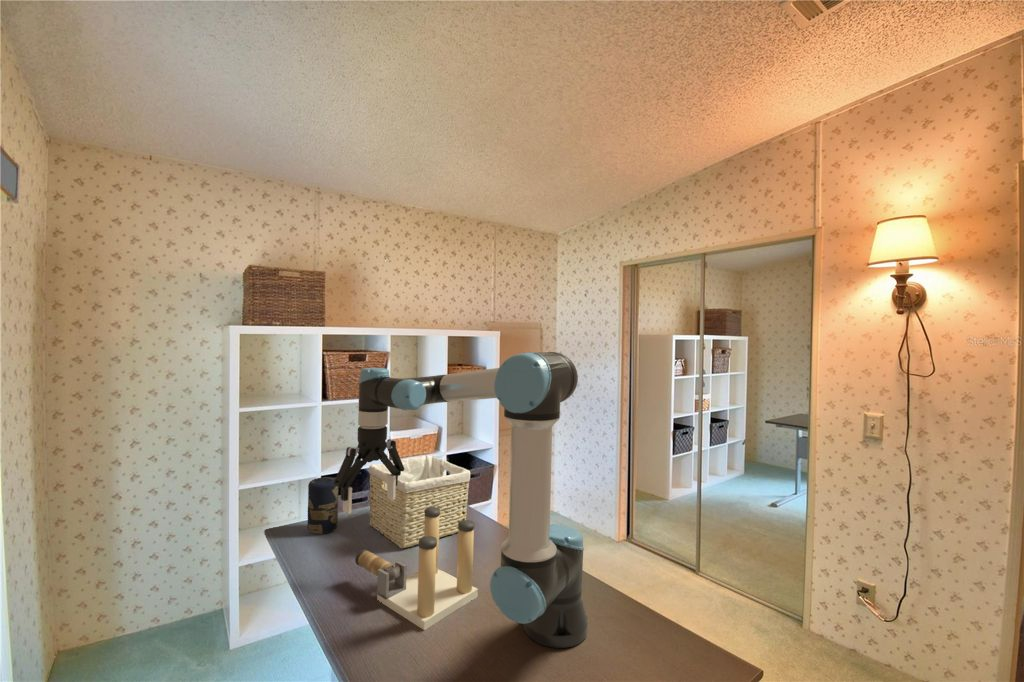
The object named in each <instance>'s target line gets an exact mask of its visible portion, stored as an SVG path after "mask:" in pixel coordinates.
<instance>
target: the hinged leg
mask: <svg viewBox="0 0 1024 682" xmlns="http://www.w3.org/2000/svg"><path fill="white" fill-rule="evenodd" d="M354 561H355V564H356V565H357V566H359V567H360V568H363V569H365V570H367V571H369V573H371V574H373V575H375V576H377V577H378V569H382V570H384V571H386V572H387V573H389V582H391V581H395V579H396V578H398V577H400V576H401V575H402V570H401V568H400V567H399V566H396V567H395V565H394V564H393V563H391V562H390V561H387V560H386V559H384V558H382V557H380V556H378V555H377V554H375V553H373V552H371V551H370V550H369V549H366V548H364V549H360V550H359V551H358V552H357V554H356V555H355V560H354Z"/></svg>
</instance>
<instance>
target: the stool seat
mask: <svg viewBox="0 0 1024 682" xmlns="http://www.w3.org/2000/svg"><path fill="white" fill-rule="evenodd" d="M439 518H440V509H439V508H436V507H430V508H426V509H425V529H424V537H422V538H420V539H419V544H418V566H417V567H418V569H417V572H416V573H414V574H411V575H409V576H407V567H408V566H407V564H404V563H403V562H401V561H399V560H397V561H395V562H394V563H395V564H394V567H396V566H399V567H400V568H401V570H402V575H401V576H400V577H398V578H396V579H394V583H391V584H390V581H389V573H387V572H386V571H384V570H382V569H378V576H377V581H376V582H377V583H376V585H377V586H376V589H377V590H376V600H377V601H378V600H379V601H380V602H379V601H378V602H379V603H381V602H382V603H381V604H383V606H386V607H388V609H390V610H392V611H393V612H395V613H396V614H398V615H400V616H401V617H403V618H404V619H406V620H408V621H409V622H411V623H412V624H414V625H415V626H417V627H419V628H420V629H421V630H423V631H426V630H428V629H429V628H431V627H432V626H434V625H436V624H437V623H439V622H440V621H442V620H443V619H444V618H446V617H448V616H449V615H451V614H452V613H454V612H456V611H458V610H459V609H461V608H462V607H464V606H465V605H467V604H468V603H470V602H472V601H473V600H474V599H477V598H478V596H479V588H477V587H475V586H473V576H474V575H473V573H474V572H473V571H474V570H473V568H474V540H475V537H474V536H475V535H474V534H475V522H474V521H473V520H468V519H466V520H463V521H460V522H459V523H458V532H457V559H456V560H457V561H456V562H457V565H456V567H457V569H456V577H455V576H453V575H451V574H449V573H447V572H445V571H443V570H441V569H439V551H440V550H439V547H440V544H439V542H440V538H439ZM471 600H472V601H471Z"/></svg>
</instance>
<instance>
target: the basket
mask: <svg viewBox="0 0 1024 682" xmlns="http://www.w3.org/2000/svg"><path fill="white" fill-rule="evenodd" d="M401 461H402V464H403V466H404V471H401V474H400V476H398V484H397V486H396V491H395V499H394V500H392V499H390V498H387V483H388V474H391V473H390V471H389V470H388V469H387V468H386V467H385V465H384V464H383V463H378V464H374V463H373V464H370V465H369V466H368V473H369V486H370V487H369V492H370V493H369V498H370V499H369V526H370V527H372V528H374V530H377V532H380V533H381V535H383V536H384V537H386V538H387V539H388V540H391V542H393V543H394V544H395V545H396V546H397V547H399V549H404V548H411V547H413V546H416V545H419V539H420V538H422V537H424V529H425V509H426V508H430V507H436V508H439V509H440V518H439V539H440V538H443V537H446V536H448V535H454V534H456V533H458V523H459V522H460V521H463V520H467V508H468V507H467V506H468V499H469V497H468V496H469V488H470V481H471V471H470V470H469V469H467V468H464V467H462V466H458V465H456V464H453V463H451V462H449V461H447V460H446V459H443V458H439V457H436V456H434V455H429V454H424V455H421V456H420V457H419V456H415V457H407V458H405V459H401ZM391 462H392V463H393V461H392V460H391ZM393 465H394V464H393ZM445 471H446V472H449V475H447V474H446V475H444V472H445Z"/></svg>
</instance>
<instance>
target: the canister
mask: <svg viewBox="0 0 1024 682" xmlns="http://www.w3.org/2000/svg"><path fill="white" fill-rule="evenodd" d="M335 479H336V477H331V476H322V477H316V478H314V479H311V480H310V481H309V483H308V484H307V486H308V487H307V494H308V495H307V531H308V532H309V533H310V534H311V533H312V534H314V535H322V534H326V533H329V532H333V531H334V530H335V529H337V527H338V518H339V516H338V515H339V513H338V509H339V507H338V506H339V487H337V486H335V485H334V481H335Z"/></svg>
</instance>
